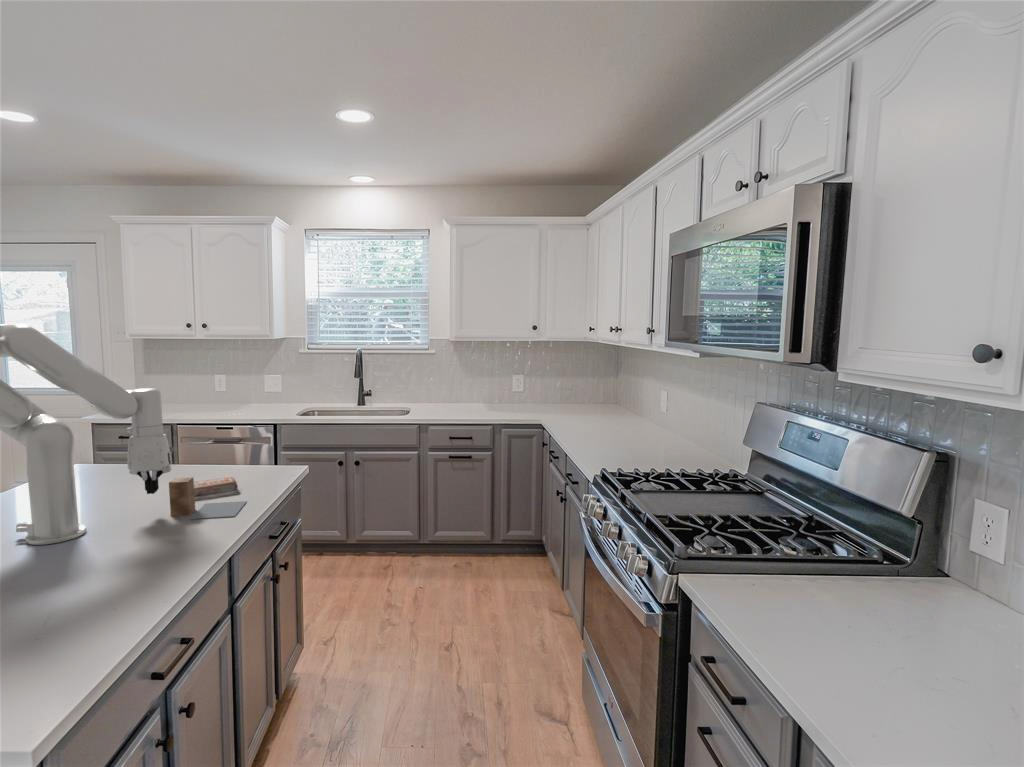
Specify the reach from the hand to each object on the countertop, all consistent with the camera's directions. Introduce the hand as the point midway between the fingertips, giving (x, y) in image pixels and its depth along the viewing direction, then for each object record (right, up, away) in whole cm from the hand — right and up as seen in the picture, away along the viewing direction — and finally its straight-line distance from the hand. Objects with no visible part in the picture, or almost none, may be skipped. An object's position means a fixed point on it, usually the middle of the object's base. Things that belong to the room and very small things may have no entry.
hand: (152, 492), depth 168 cm
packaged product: (+5, -5, +20) cm, 22 cm away
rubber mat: (+18, -6, +4) cm, 19 cm away
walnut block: (+8, -7, +2) cm, 10 cm away
